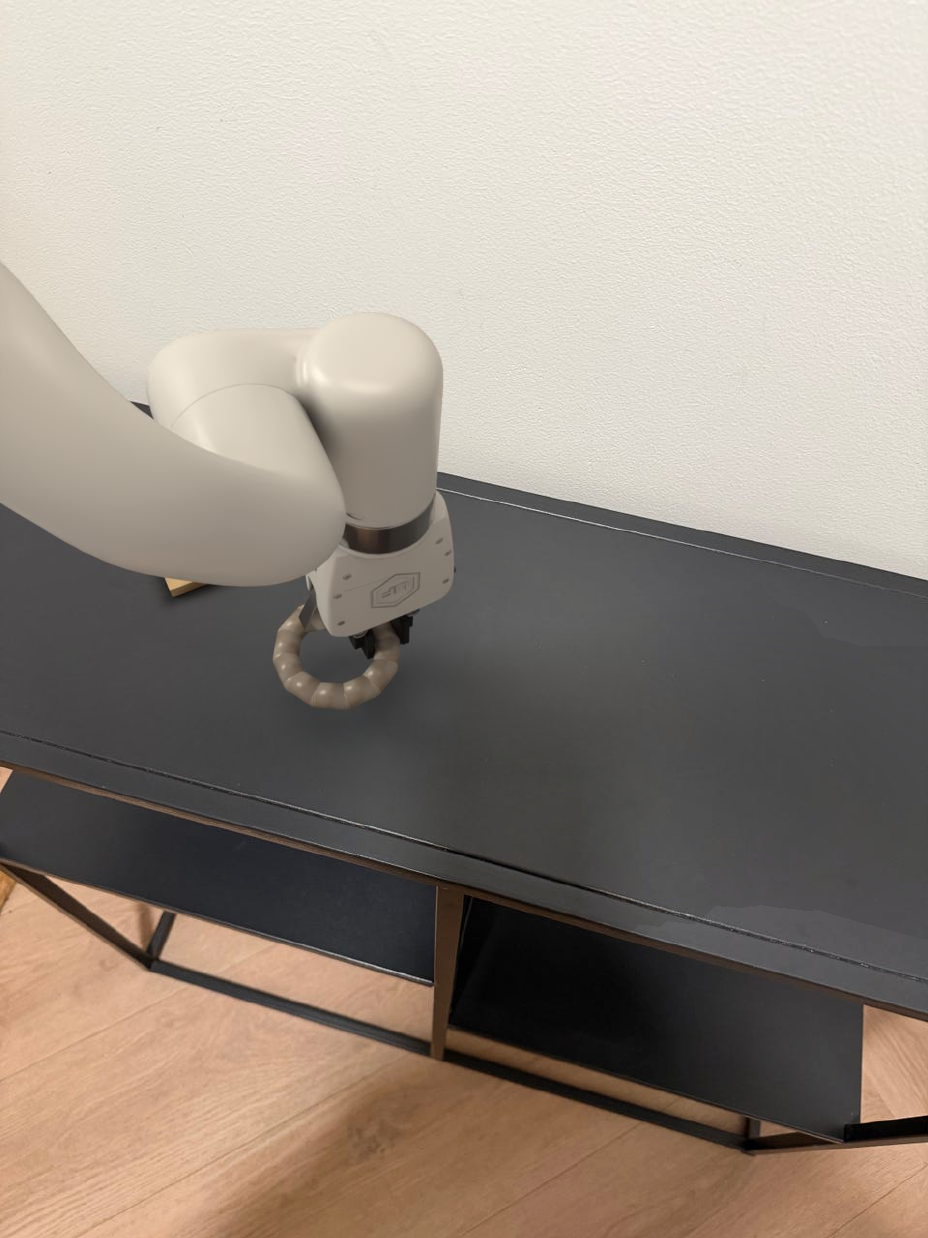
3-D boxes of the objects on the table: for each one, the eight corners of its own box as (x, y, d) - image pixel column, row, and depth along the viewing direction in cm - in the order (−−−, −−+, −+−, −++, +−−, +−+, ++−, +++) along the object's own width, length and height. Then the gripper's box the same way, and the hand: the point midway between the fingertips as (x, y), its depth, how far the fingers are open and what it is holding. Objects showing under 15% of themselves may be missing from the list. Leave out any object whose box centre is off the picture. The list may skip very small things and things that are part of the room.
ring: (304, 732, 65) (301, 722, 63) (257, 631, 69) (253, 619, 67) (420, 682, 68) (420, 670, 66) (368, 587, 72) (367, 574, 70)
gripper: (279, 588, 49) (307, 714, 65) (514, 499, 54) (487, 636, 70) (234, 497, 53) (271, 638, 68) (460, 420, 57) (446, 568, 73)
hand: (380, 636), depth 69 cm, fingers closed on ring, 2 cm apart
